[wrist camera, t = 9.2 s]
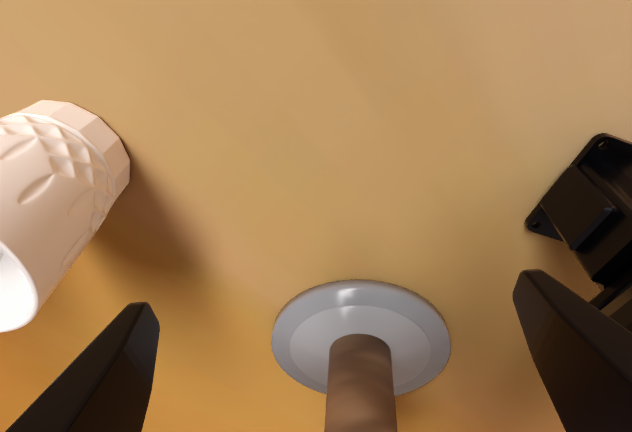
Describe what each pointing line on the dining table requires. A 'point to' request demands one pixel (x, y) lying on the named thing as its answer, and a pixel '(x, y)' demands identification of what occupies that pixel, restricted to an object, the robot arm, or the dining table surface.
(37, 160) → the white cup
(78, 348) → the dining table surface
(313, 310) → the plate
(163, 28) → the dining table surface
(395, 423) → the wooden pepper mill
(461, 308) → the dining table surface
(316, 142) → the dining table surface
